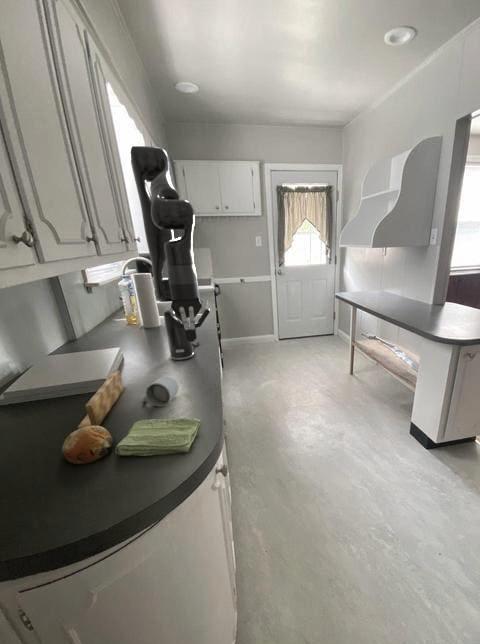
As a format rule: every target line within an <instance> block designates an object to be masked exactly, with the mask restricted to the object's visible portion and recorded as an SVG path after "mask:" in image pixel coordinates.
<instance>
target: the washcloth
mask: <svg viewBox="0 0 480 644" xmlns="http://www.w3.org/2000/svg"><path fill="white" fill-rule="evenodd" d="M201 423H202V421H201V420H200V419H198V418H190V417H188V418H187V417H182V418H181V417H179V418H167V419H156V418H153V419H141V420H138V421H136V422H134V423H133V425H132V427H131V428H130V429H129V430H128V433H127V435H126V436H125V437H123V438H122V439H121V440H120V441H119V442H118V443H117V445H116V448H115V453H116V454H117V455H119V456H140V457H146V456H147V457H148V456H157V455H158V456H160V455H170V454H178V453H180V454H181V453H188V452H190V451H189V450H190V448H191V446H192V444H193V441H194V440H195V438H196V436H197V434H198V430H199V428H200V425H201Z"/></svg>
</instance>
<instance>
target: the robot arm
mask: <svg viewBox="0 0 480 644" xmlns="http://www.w3.org/2000/svg"><path fill="white" fill-rule="evenodd" d="M129 159H130V165H131V169H132V173H133V177H134V182H135V185H136V186H135V187H136V190H137V194H138V199H139V203H140V207H141V208H140V209H141V215H142V222H143V227H144V233H145V240H146V243H147V249H148V253H149V257H150V263H151V269H152V278H153V284H154V292H155V297H156V298H157V300H158V302H160V303H171V304H170V307H169V308H168V309H166V310H164V311H163V319H164V324H165V325H164V326H165V330H166V336H167V341H168V348H169V353H170V359H171V360H174V361H184V360H188V359H192V358H193V357H194V355H195V354H194V349H193V347H197V346H199V344H200V342H199V341H197V342H196V340H197V338H198V335H197V328H200V327H202V325H203V324H204V322H205V320H206V319H207V318H208V316H209V314H210V313H211V309H210V308H209V307H206V306H205V305H203V302H202V301H201V299H200V298H201V297H200V291H199V283H198V276H197V270H196V266H195V261H194V260H195V259H194V251H193V235H194V227H195V222H196V221H195V220H196V212H195V209H194V207H193V205H192V204H191V202H190V201H188V200H187V199H181V195H180V193H179V192H178V189H177V186H176V184H175V177H174V173H173V169H172V165H171V160H170V157H169V155H168V152H167V151H166V150H165V149H164V148H162V147H159V146H146V145H131V146H130V148H129ZM147 183H150V186H149V188H148V185H147ZM174 231H181V234H180V236H179V237H178V238H175V235H174ZM165 267H166V269H167V277H163V274H164V270H165ZM200 311H201V312H200ZM199 312H200V313H201V316H200V317H199V319H198V320H197V321H196V317H197V315H199ZM195 342H196V343H195Z"/></svg>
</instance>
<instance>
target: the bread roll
mask: <svg viewBox="0 0 480 644" xmlns="http://www.w3.org/2000/svg"><path fill="white" fill-rule="evenodd" d="M113 441H114V439H113V437H112V434H111V433H110V431H109V430H108V429H106V428H105V427H103V426H100V425H99V426H87V427H83V428H80V429H78V428H77V429H76V430H74V431H73V432H71V433H70V434H68V436H67V437H66V439H65V440H64V442H63V444H62V448H61V452H62V454H63V456H64V458H65V459H66V460H67V461H68V462H69V463H72V464H75V465H85V464H89V463H92V462H95V461H97V460H99V459H102V458H103V457H104V456H106V455H108V453H109V452H110V451H111V449H112V446H113Z"/></svg>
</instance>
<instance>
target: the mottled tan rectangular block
mask: <svg viewBox="0 0 480 644" xmlns="http://www.w3.org/2000/svg"><path fill="white" fill-rule="evenodd" d="M123 391H124V384H123V380H122V377H121V373H120V370H118V369H117V370H113V372H112V373H111V374H110V375H109V377H107V378H106V380H105V381H104V383H103V384H102V385H101V386H100V387H99V388H98V389H97V391H96V392H95V394H93V395H92V397H91V398H90V400H88V401H87V403H86V404H85V405H84V406H85V411H86V413H87V414H86V415H85V417H84V418H83V420H82V421H81V422H80V423H79V425H78V426H77V430H78V429H80V428H83V427H87V426H100V425H101V424H102V422H103V421H104V419H105V418H106V416H107V415H108V413H109V412H110V411H111V409H112V408H113V406H114V405H115V403H116V401H117V400H118V399H119V397H120V395H121V394H122V393H123Z"/></svg>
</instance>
